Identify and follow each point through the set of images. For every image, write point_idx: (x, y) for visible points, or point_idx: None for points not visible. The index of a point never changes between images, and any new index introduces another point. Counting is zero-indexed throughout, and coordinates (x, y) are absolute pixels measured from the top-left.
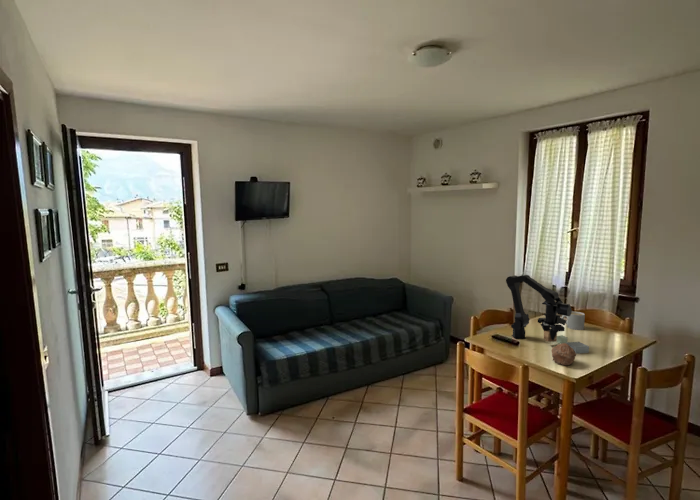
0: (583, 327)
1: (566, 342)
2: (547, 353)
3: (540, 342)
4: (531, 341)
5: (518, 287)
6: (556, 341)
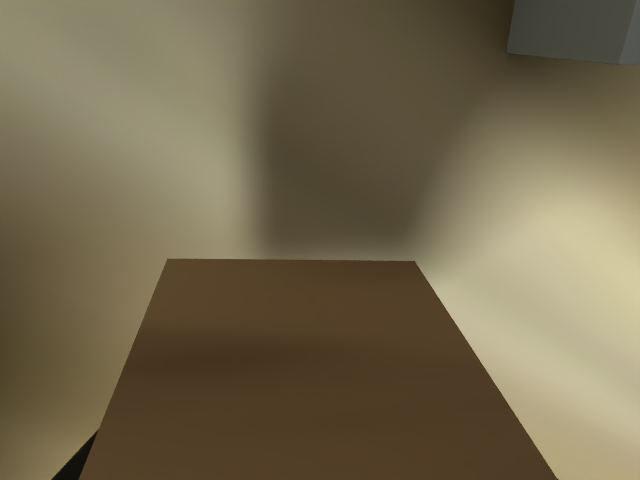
0: None
1: (629, 60)
2: (551, 438)
3: (87, 344)
4: (41, 446)
5: None
6: (414, 263)
